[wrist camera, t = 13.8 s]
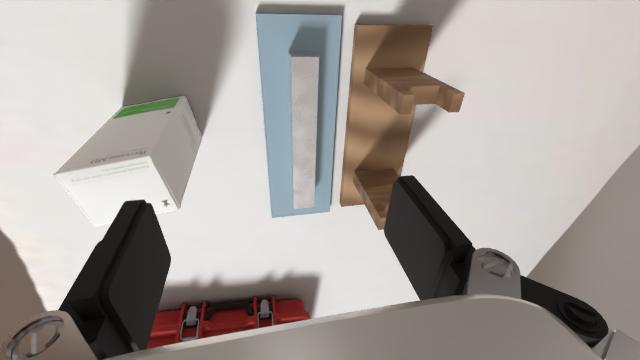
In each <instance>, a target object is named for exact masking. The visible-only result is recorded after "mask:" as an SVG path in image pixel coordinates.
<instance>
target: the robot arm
mask: <svg viewBox="0 0 640 360" xmlns="http://www.w3.org/2000/svg"><path fill="white" fill-rule="evenodd" d="M384 233H385V236H386V238H387V240H388V242H389V244H390V246H391V247H392V249H393V251H394V253H395V255H396V257H397V258H398V260H399V262H400V264H401V266H402V268H403V269H404V271H405V273H406V275H407V277H408V279H409V280H410V282H411V284H412V286H413V288H414V290H415V291H416V293H417V295H418V297H419V299H420V300H421V301H414V302H408V303H402V304H396V305H390V306H384V307H378V308H372V309H367V310H361V311H355V312H349V313H343V314H337V315H332V316H326V317H320V318H314V319H309V320H303V321H297V322H292V323H286V324H280V325H275V326H269V327H263V328H258V329H252V330H247V331H241V332H236V333H230V334H225V335H219V336H213V337H208V338H202V339H197V340H191V341H186V342H181V343H176V344H171V345H166V346H161V347H156V348H150V349H147V346H148V342H149V338H150V335H151V331H152V328H153V324H154V321H155V317H156V313H157V310H158V306H159V303H160V299H161V296H162V292H163V288H164V285H165V281H166V278H167V274H168V271H169V267H170V263H171V257H170V253H169V250H168V247H167V244H166V242H165V239H164V236H163V233H162V231H161V228H160V225H159V222H158V220H157V217H156V214H155V211H154V209H153V206H152V204H151V203H146V201H145V200H143V199H142V200H131V201H125V202H124V203H123V205H122V207H121V208H120V210H119V212H118V214H117V215H116V217H115V219H114V220H113V222H112V224H111V226H110V227H109V229H108V231H107V233H106V234H105V236H104V238H103V240H102V241H100V242H98V244H97V245H96V246H95V248H94V250H93V251H92V253H91V255H90V257H89V258H88V260H87V262H86V263H85V265H84V267H83V269H82V270H81V272H80V274H79V275H78V277H77V279H76V281H75V282H74V284H73V286H72V287H71V289H70V291H69V292H68V294H67V296H66V298H65V299H64V301H63V303H62V304H61V306H60V308H59V310H56V311H48V312H45V313H41V314H39V315H37V316H35V317H32V318H30V319H28V320H27V321H26V322H24V323H22V324H21V325H19V326H18V327H17V328H16V329H14V330H13V331H12V332H11V333H10V334H9V335H8V336H7V337H6V339H5V340H4V341H3V343H2V344H1V346H0V360H640V342H638V341H637V340H635V339H633V338H632V337H630V336H628V335H627V334H625V333H623V332H622V331H620V330H618V329H616V330H614V331H612V330H610V329H609V328H608V326H607V323H606V321H605V320H604V319H603V317H602V316H601V315H600V314H599V313H598V312H597V311H596V310H595V309H594V308H592V307H591V306H589V305H588V304H587V303H585V302H583V301H581V300H579V299H577V298H575V297H572V296H570V295H568V294H565V293H562V292H560V291H558V290H555V289H553V288H551V287H548V286H546V285H543V284H541V283H538V282H536V281H534V280H531V279H529V278H526V277H524V276H521V275H520V270H519V267H518V266H517V264H516V263H515V261H513V260H512V259H511V258H510V257H509V256H507V255H506V254H504V253H502V252H500V251H498V250H495V249H491V248H480V249H477V250H476V249H475V248H474V247H473V246H472V243H471V241H470V240H469V239H468V238H467V237H466V236H465V235H464V233H463V232H462V231H461V230H460V229H459V228H458V226H457V225H456V224H455V223H454V222H453V221H452V220H451V218H450V217H449V216H448V215H447V214H446V213H445V212H444V210H443V209H442V208H441V207H440V206H439V205H438V203H437V202H436V201H435V200H434V199H433V198H432V197H431V195H430V194H429V193H428V192H427V191H426V190H425V188H424V187H423V186H422V185H421V184H420V183H419V182H418V180H417V179H416V178H415V177H414V176H412V175H411V176H400V177H398V179H397V180H395V181H394V183H393V187H392V192H391V197H390V202H389V207H388V211H387V216H386V221H385V226H384Z"/></svg>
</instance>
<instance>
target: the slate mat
mask: <svg viewBox="0 0 640 360" xmlns="http://www.w3.org/2000/svg"><path fill="white" fill-rule="evenodd" d="M256 22H257V35H258V47H259V60H260V73H261V85H262V98H263V111H264V123H265V136H266V149H267V161H268V174H269V187H270V199H271V212H272V218H275V217H284V216H294V215H303V214H312V213H321V212H330V199H331V183H332V167H333V151H334V135H335V119H336V103H337V87H338V71H339V55H340V39H341V23H342V15H328V14H276V13H256ZM288 52H315V53H316V54H317V55H318V56H319V75H318V105H317V136H316V166H315V197H314V207H310V208H299V209H294V208H293V203H292V198H291V159H290V112H289V66H288Z"/></svg>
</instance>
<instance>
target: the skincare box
mask: <svg viewBox="0 0 640 360" xmlns="http://www.w3.org/2000/svg"><path fill="white" fill-rule="evenodd" d="M201 140H202V135H201V133H200V130H199V128H198V125H197V123H196V120H195V118H194V115H193V113H192V110H191V108H190V106H189V103H188V101H187V98H186V96H178V97H174V98H167V99H162V100H157V101H151V102H146V103H141V104H136V105H130V106H124V107H121V108H120V109H119V110H118V111H117V112H116V113H115V114H114V115H113V116H112V117H111V118H110V119H109V120H108V121H107V122H106V123H105V124H104V125H103V126H102V127H101V128H100V129H99V130H98V131H97V132H96V133H95V134H94V135H93V136H92V137H91V138H90V139H89V140H88V141H87V142H86V143H85V144H84V145H83V146H82V147H81V148H80V149H79V150H78V151H77V152H76V153H75V154H74V155H73V156H72V157H71V158H70V159H69V160H68V161H67V162H66V163H65V164H64V165H63V166H62V167H61V168H60V169H59V170H58V171H57V172H56V173H55V174H53V175H54V177H55V178H56V179H57V180H58V182H59V183H60V184H61V185H62V187H63V188H64V189H65V190H66V191H67V193H68V194H69V195H70V196H71V198H72V199H73V200H74V201H75V203H76V204H77V205H78V206H79V208H80V209H81V210H82V211H83V213H84V214H85V215H86V216H87V218H88V219H89V220H90V221H91V223H92V224H93V225H94V226H95V227H97V226H101V225H106V224H111V223H112V222H113V220H114V219H115V217H116V215H117V214H118V212H119V210H120V208H121V207H122V205H123V203H124V202H125V201H131V200H142V199H143V200H145V201H146V203H151V204H152V206H153V209H154V211H155V214H159V213H164V212H169V211H174V210H179V209H180V207H181V202H182V198H183V195H184V192H185V189H186V186H187V183H188V180H189V177H190V173H191V170H192V167H193V164H194V161H195V158H196V155H197V152H198V149H199V146H200V143H201Z"/></svg>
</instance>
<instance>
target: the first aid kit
mask: <svg viewBox="0 0 640 360" xmlns="http://www.w3.org/2000/svg"><path fill="white" fill-rule="evenodd" d="M309 319H310V316H309V313H308V312H306V311H305V310H304V304H303V302H302V301H301V300H298V299H290V300H279V301H275V295H272V297H271V301H269V302H268V301H267V300H262V301H261V302H258V303H256V296H255V297H254V303H249V302H248V301H240V302H229V303H218V304H212V305H211V307H207V303H206V301H203V304H202V308H196V306H191V307H190V309H187V304H186V303H183V304H182V307H181V310H173V311H162V312H157V313H156V317H155V321H154V324H153V328H152V331H151V335H150V338H149V342H148V346H147V349H150V348H156V347H161V346H166V345H171V344H176V343H181V342H186V341H191V340H197V339H202V338H208V337H213V336H219V335H225V334H230V333H236V332H241V331H247V330H252V329H258V328H263V327H269V326H275V325H280V324H286V323H292V322H297V321H303V320H309Z"/></svg>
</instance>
